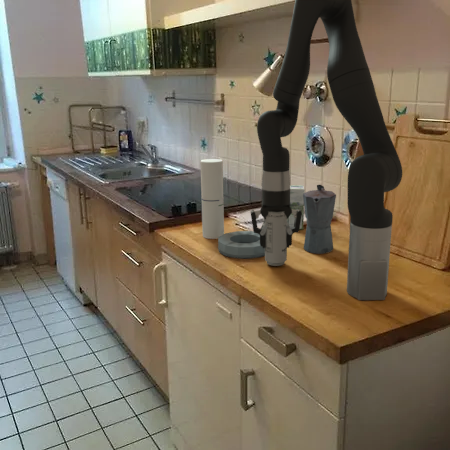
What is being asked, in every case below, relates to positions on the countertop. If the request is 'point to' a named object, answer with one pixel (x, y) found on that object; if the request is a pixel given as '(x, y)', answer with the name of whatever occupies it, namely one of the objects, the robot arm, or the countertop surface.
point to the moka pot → (319, 220)
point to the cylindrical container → (212, 198)
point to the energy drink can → (276, 239)
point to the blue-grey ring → (241, 245)
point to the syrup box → (296, 204)
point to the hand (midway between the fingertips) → (275, 246)
